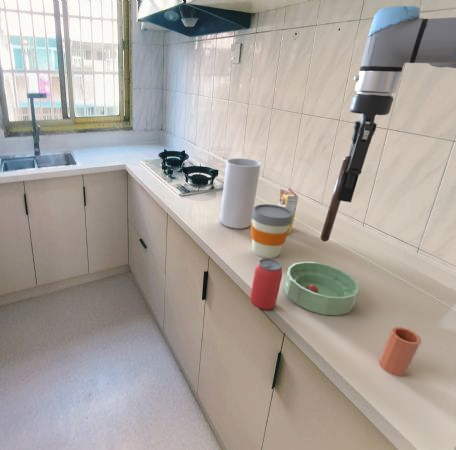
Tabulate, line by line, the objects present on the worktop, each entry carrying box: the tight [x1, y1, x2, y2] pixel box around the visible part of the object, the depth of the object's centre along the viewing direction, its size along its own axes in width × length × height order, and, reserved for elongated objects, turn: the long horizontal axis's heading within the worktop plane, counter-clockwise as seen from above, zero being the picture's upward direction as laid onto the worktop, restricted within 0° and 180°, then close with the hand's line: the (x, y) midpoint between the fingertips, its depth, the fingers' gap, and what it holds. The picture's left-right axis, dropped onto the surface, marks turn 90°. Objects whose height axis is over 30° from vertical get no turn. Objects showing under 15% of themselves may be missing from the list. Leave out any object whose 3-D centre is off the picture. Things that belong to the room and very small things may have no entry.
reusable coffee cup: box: [250, 203, 292, 259], centre depth 112 cm, size 12×13×15 cm
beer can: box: [249, 257, 283, 311], centre depth 87 cm, size 7×7×12 cm
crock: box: [378, 326, 422, 377], centre depth 68 cm, size 5×5×9 cm
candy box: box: [277, 188, 299, 234], centre depth 130 cm, size 9×4×15 cm, turn 177°
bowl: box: [283, 261, 360, 317], centre depth 91 cm, size 17×17×6 cm
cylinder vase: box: [219, 157, 262, 230], centre depth 132 cm, size 12×12×25 cm
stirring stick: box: [320, 155, 351, 242], centre depth 82 cm, size 2×2×22 cm
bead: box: [306, 285, 318, 293], centre depth 91 cm, size 3×3×3 cm
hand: (344, 199), depth 81 cm, fingers closed on stirring stick, 2 cm apart
